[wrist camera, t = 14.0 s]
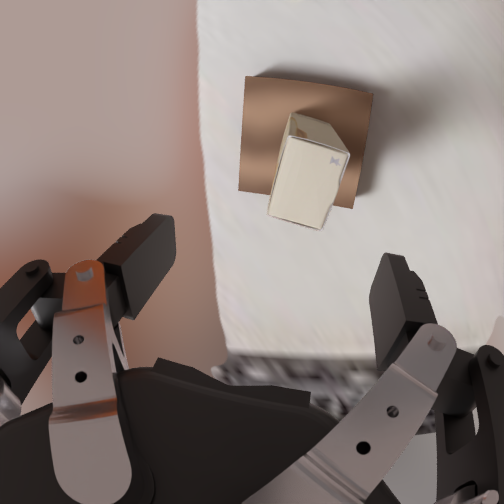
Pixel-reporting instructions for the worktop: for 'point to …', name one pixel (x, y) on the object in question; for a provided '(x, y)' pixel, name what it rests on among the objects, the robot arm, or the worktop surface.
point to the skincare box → (307, 172)
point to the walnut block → (275, 120)
